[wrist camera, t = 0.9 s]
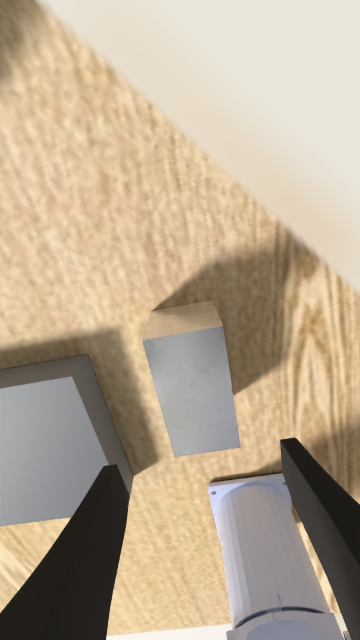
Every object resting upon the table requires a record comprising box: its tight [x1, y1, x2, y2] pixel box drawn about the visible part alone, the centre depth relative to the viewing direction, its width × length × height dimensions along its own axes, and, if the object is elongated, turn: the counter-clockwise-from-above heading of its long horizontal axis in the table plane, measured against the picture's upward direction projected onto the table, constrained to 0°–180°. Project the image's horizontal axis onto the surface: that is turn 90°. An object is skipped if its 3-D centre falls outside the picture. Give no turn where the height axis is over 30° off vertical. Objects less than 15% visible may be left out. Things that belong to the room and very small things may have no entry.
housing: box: [142, 300, 240, 457], centre depth 17 cm, size 9×4×5 cm, turn 11°
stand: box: [0, 354, 133, 526], centre depth 21 cm, size 14×12×3 cm
